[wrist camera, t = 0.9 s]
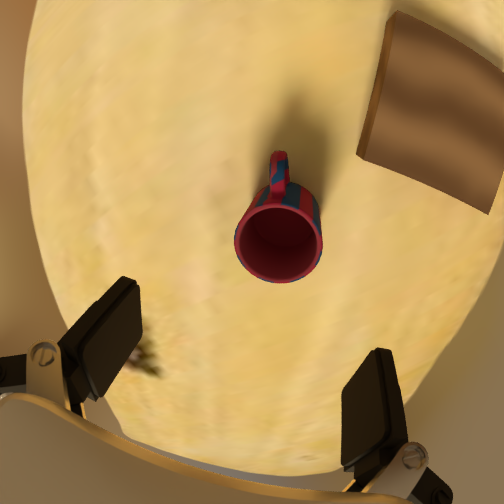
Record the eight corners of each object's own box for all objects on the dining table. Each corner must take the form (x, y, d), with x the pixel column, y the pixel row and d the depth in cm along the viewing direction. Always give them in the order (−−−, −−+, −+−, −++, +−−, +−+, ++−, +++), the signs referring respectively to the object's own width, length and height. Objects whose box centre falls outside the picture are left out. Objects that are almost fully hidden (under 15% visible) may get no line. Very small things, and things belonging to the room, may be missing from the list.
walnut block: (385, 23, 17) (397, 10, 13) (498, 86, 16) (520, 86, 12) (354, 153, 23) (363, 160, 20) (469, 202, 22) (488, 215, 19)
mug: (248, 241, 29) (232, 277, 23) (255, 143, 24) (237, 152, 18) (314, 251, 28) (314, 289, 22) (328, 152, 23) (336, 163, 17)
